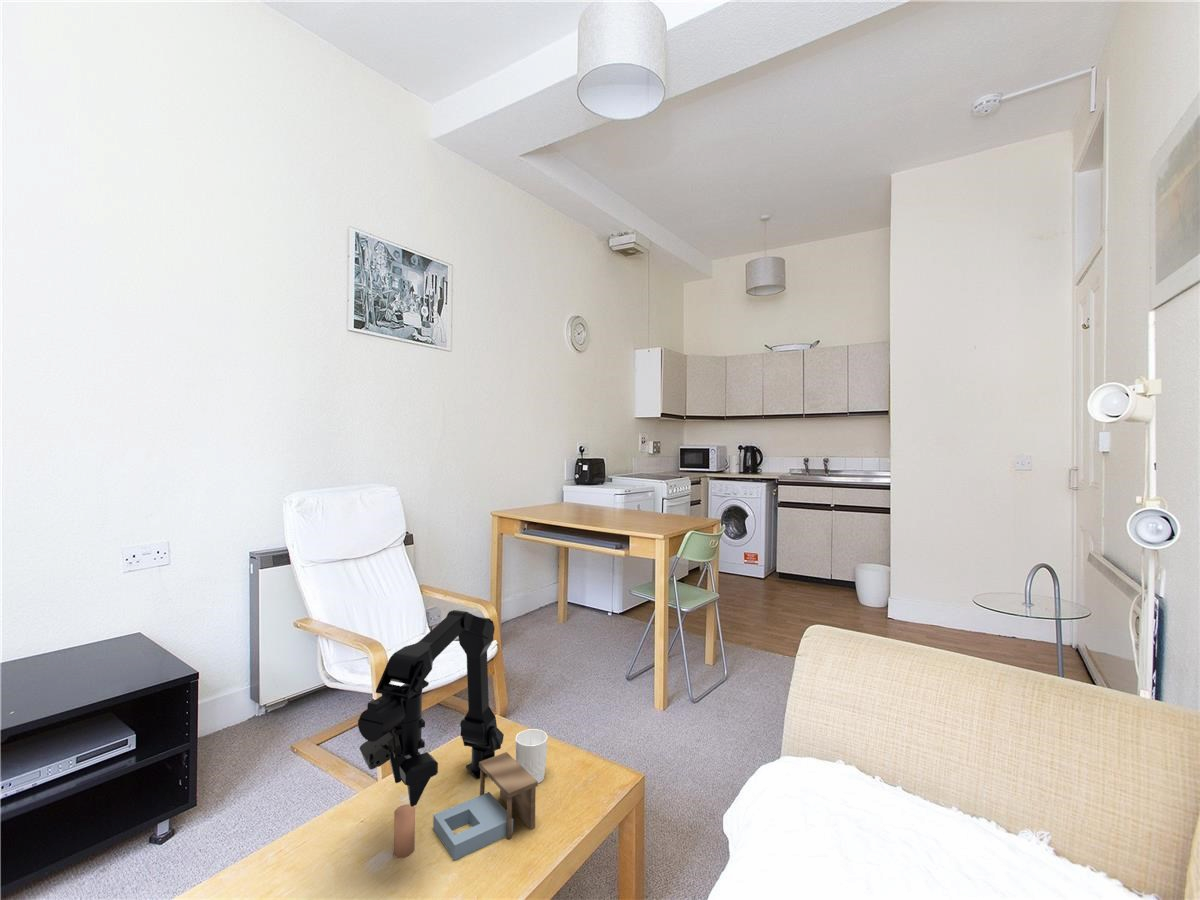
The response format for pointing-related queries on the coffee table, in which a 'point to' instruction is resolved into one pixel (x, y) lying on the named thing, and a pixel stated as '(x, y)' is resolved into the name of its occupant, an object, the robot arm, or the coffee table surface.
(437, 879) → the coffee table surface
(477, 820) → the socket block
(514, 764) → the brown wooden table shape
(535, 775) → the white cup
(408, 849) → the peg
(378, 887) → the coffee table surface
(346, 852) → the coffee table surface
